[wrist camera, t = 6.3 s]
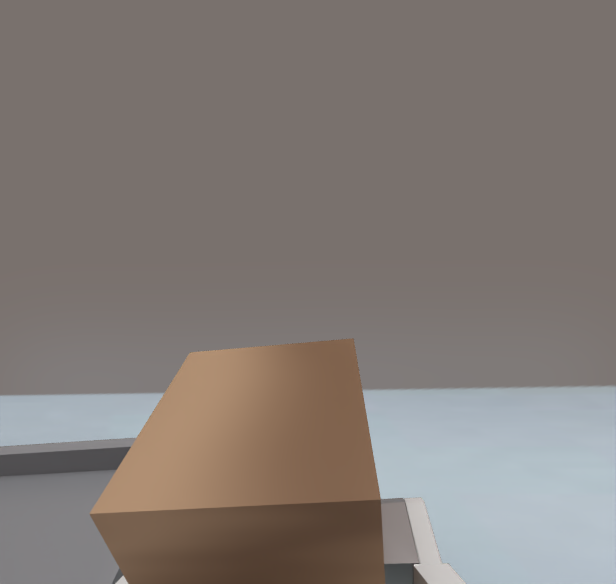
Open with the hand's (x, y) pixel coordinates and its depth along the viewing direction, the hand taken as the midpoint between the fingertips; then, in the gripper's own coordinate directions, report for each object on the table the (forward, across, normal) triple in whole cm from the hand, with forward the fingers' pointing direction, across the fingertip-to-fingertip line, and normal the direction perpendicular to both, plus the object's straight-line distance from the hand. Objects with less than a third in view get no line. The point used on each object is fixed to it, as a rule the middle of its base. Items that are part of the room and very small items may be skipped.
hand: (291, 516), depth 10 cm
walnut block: (-1, 0, +6) cm, 6 cm away
